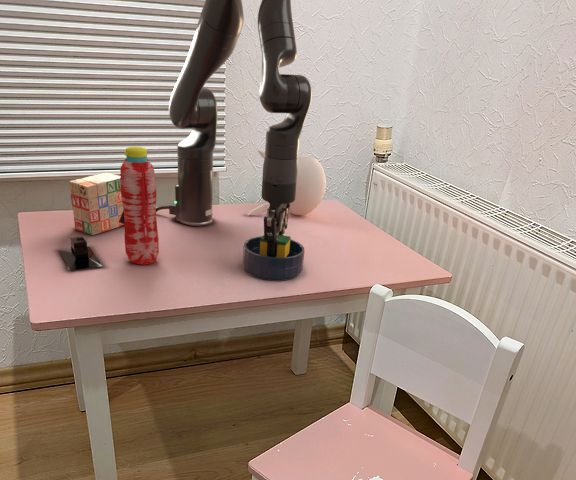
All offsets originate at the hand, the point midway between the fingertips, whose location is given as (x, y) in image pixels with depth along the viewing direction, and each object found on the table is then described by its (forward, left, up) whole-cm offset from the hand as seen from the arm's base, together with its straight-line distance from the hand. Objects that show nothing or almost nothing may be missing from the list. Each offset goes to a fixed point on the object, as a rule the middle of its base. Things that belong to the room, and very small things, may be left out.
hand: (274, 252), depth 134 cm
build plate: (-42, -14, -4) cm, 45 cm away
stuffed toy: (-8, +42, -4) cm, 43 cm away
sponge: (0, 0, 0) cm, 0 cm away
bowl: (0, 0, -4) cm, 4 cm away
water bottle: (-30, -8, -4) cm, 31 cm away
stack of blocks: (-47, +11, -4) cm, 49 cm away
